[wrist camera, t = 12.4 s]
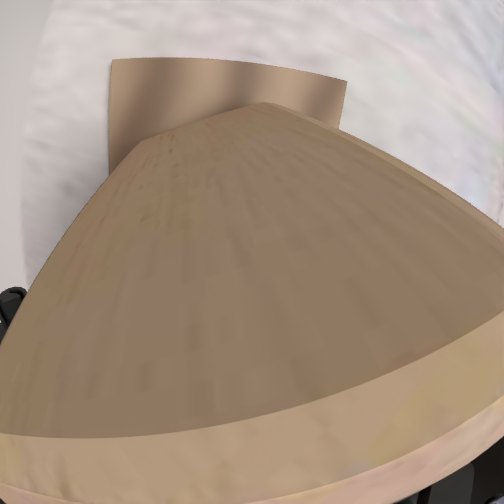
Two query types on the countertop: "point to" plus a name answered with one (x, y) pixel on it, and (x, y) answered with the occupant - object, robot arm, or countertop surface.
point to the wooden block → (256, 327)
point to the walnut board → (206, 95)
